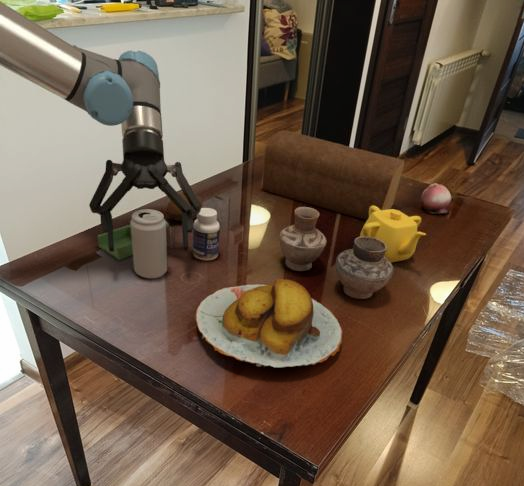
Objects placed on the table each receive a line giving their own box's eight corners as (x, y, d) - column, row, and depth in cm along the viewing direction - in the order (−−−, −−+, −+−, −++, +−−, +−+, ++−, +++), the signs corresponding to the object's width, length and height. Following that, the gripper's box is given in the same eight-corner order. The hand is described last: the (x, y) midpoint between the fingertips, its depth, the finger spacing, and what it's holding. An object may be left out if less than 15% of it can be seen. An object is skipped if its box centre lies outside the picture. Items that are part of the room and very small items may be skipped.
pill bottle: (208, 264, 100) (210, 220, 94) (187, 255, 102) (187, 212, 95) (223, 254, 104) (225, 211, 97) (202, 246, 105) (203, 203, 99)
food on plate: (171, 311, 87) (170, 280, 82) (283, 279, 98) (287, 251, 94) (247, 402, 71) (250, 370, 67) (368, 352, 83) (378, 322, 79)
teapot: (419, 249, 114) (433, 208, 108) (412, 275, 105) (427, 231, 98) (362, 235, 117) (373, 194, 111) (351, 258, 108) (361, 215, 101)
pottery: (292, 247, 109) (300, 196, 101) (394, 291, 99) (411, 238, 92) (263, 266, 102) (270, 212, 94) (370, 315, 92) (387, 260, 84)
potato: (209, 217, 116) (210, 192, 112) (182, 230, 110) (182, 204, 106) (188, 208, 119) (188, 183, 115) (161, 221, 112) (160, 195, 108)
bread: (280, 175, 141) (286, 124, 132) (392, 207, 132) (408, 154, 123) (259, 190, 131) (264, 136, 122) (379, 226, 122) (394, 170, 113)
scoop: (119, 260, 98) (118, 248, 96) (98, 246, 101) (97, 235, 99) (178, 236, 108) (178, 226, 106) (157, 225, 111) (157, 214, 109)
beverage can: (149, 260, 99) (145, 204, 91) (174, 270, 97) (172, 214, 89) (127, 272, 95) (122, 215, 87) (152, 284, 92) (149, 226, 85)
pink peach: (427, 202, 137) (435, 177, 132) (451, 212, 133) (461, 186, 129) (412, 208, 132) (421, 183, 128) (437, 219, 129) (447, 193, 124)
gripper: (206, 150, 98) (213, 253, 97) (76, 146, 92) (81, 255, 91) (210, 131, 91) (218, 242, 89) (69, 125, 85) (75, 244, 84)
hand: (149, 249), depth 90 cm, fingers open, 13 cm apart
